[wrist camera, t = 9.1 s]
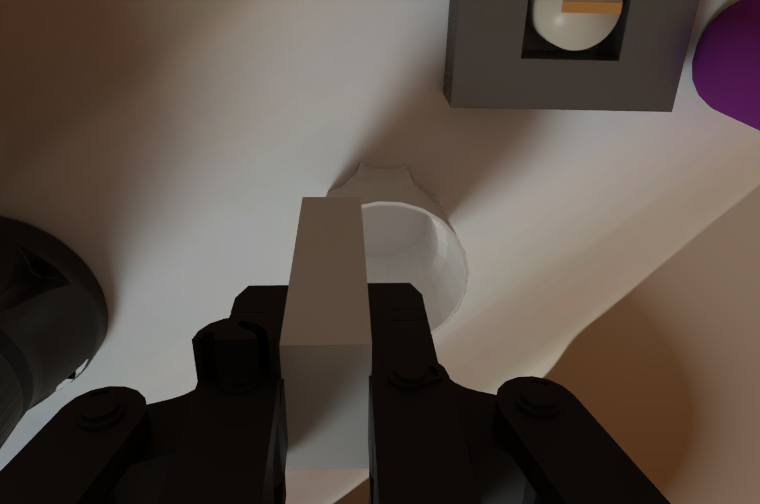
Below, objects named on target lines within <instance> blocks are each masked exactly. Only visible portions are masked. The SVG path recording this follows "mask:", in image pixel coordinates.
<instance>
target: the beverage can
mask: <svg viewBox="0 0 760 504" xmlns="http://www.w3.org/2000/svg"><path fill="white" fill-rule="evenodd" d="M692 79H693V82H694V85H695V87H696V90H697V92H698V95H699V96H700V97H701V98H702V99H703V100H704V101H705V102H706V103H707V104H708V105H709V106H710V107H711V108H713V109H714V110H717V111H719V112H721V113H723V114H725V115H727V116H730V117H732V118H734V119H736V120H738V121H740V122H743V123H745V124H747V125H749V126H751V127H753V128H756V129H758V130H760V0H740V1H738V2H736V3H735V4H733V5H731V6H730V7H728V8H726V9H725V10H723V11H722V12H721V13H720V14H719V15H718V16H717V17H716V18H715V19H714V20H713V21H712V22H711V23H710V24H709V25H708V26H707V28H706V30H705V32H704V33H703V35H702V37H701V38H700V40H699V42H698V43H697V47H696V50H695V54H694V57H693V61H692Z"/></svg>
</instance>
